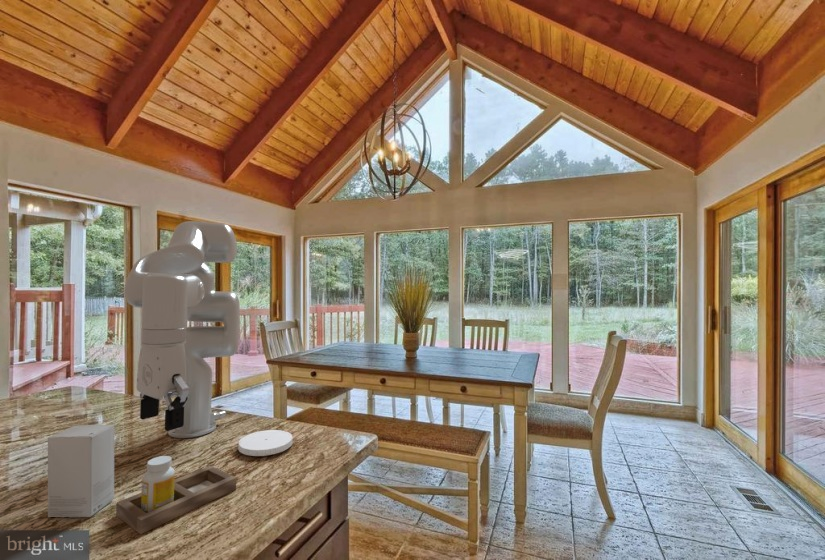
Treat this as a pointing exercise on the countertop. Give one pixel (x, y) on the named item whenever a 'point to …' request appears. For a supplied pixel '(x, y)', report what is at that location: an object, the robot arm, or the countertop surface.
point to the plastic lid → (265, 442)
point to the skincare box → (80, 470)
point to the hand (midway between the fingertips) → (161, 422)
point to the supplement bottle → (157, 484)
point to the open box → (177, 499)
